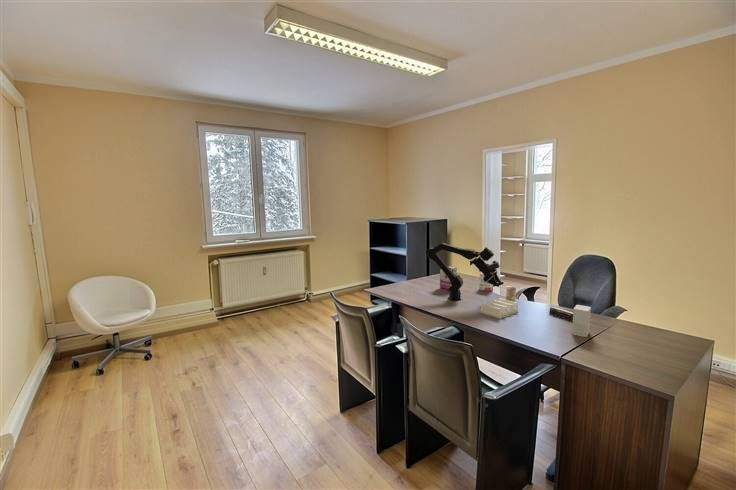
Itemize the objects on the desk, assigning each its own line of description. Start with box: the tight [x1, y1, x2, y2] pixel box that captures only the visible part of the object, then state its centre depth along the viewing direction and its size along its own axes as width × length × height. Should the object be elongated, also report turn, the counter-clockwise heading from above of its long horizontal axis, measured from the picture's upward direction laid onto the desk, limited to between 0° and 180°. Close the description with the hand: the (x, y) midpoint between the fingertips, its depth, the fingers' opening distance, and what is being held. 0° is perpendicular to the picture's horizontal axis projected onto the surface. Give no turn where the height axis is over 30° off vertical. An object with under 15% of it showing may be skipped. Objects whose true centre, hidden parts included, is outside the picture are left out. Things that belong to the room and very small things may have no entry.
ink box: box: [478, 272, 494, 292], centre depth 247 cm, size 8×5×12 cm, turn 39°
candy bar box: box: [439, 265, 458, 291], centre depth 250 cm, size 11×5×16 cm, turn 43°
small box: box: [571, 304, 592, 338], centre depth 169 cm, size 8×6×13 cm
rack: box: [479, 297, 519, 320], centre depth 200 cm, size 13×18×6 cm
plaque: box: [505, 285, 517, 302], centre depth 211 cm, size 5×3×12 cm, turn 63°
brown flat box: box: [549, 306, 573, 322], centre depth 194 cm, size 14×25×4 cm, turn 27°
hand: (500, 284), depth 213 cm, fingers open, 9 cm apart
